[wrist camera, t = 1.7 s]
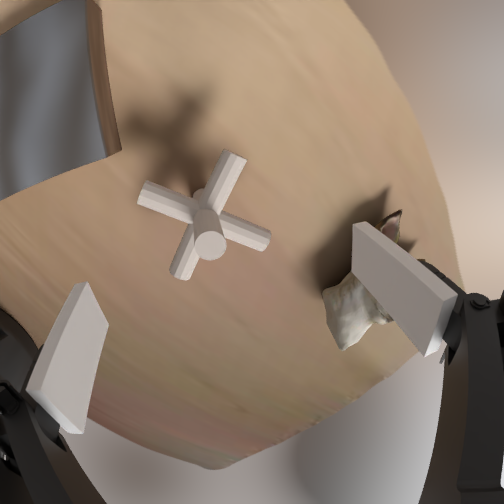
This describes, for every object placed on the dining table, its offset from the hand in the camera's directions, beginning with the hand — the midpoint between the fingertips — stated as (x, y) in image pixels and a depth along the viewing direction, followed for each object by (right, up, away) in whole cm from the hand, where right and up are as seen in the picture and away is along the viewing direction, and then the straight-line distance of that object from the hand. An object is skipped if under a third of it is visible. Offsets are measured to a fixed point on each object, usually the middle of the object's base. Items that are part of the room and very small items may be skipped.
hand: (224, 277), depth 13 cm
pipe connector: (-3, +6, +12) cm, 14 cm away
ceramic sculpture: (+14, -1, +20) cm, 24 cm away
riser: (-18, +14, +4) cm, 24 cm away
